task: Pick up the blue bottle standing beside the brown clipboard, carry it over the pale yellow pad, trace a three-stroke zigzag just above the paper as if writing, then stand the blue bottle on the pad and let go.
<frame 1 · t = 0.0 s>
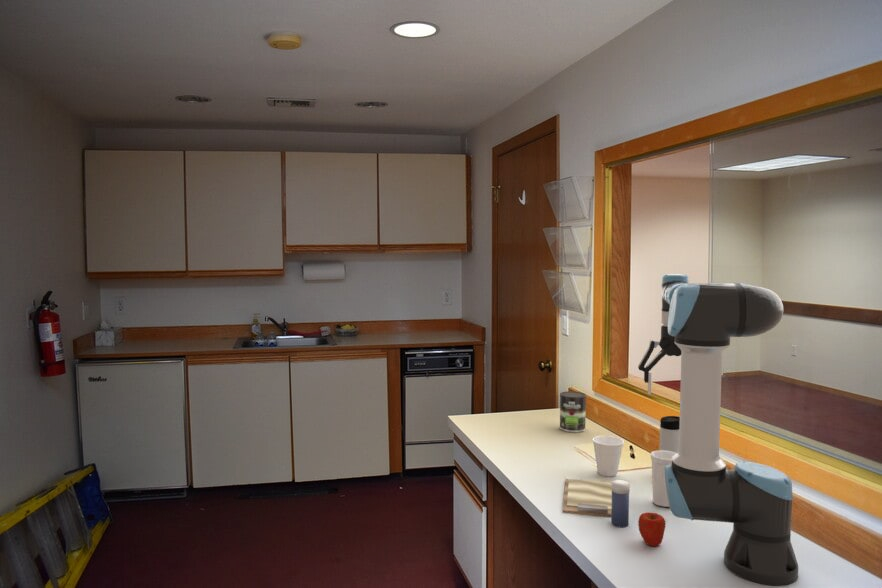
hand: (672, 394, 192), 28 cm above the table, fingers open, 13 cm apart
apple: (651, 544, 156), on the table
cup: (607, 474, 204), on the table
cup 2: (664, 504, 180), on the table
blue bottle: (619, 523, 167), on the table
travel mug: (670, 479, 198), on the table
coffee can: (572, 429, 253), on the table
clipboard: (592, 497, 184), on the table
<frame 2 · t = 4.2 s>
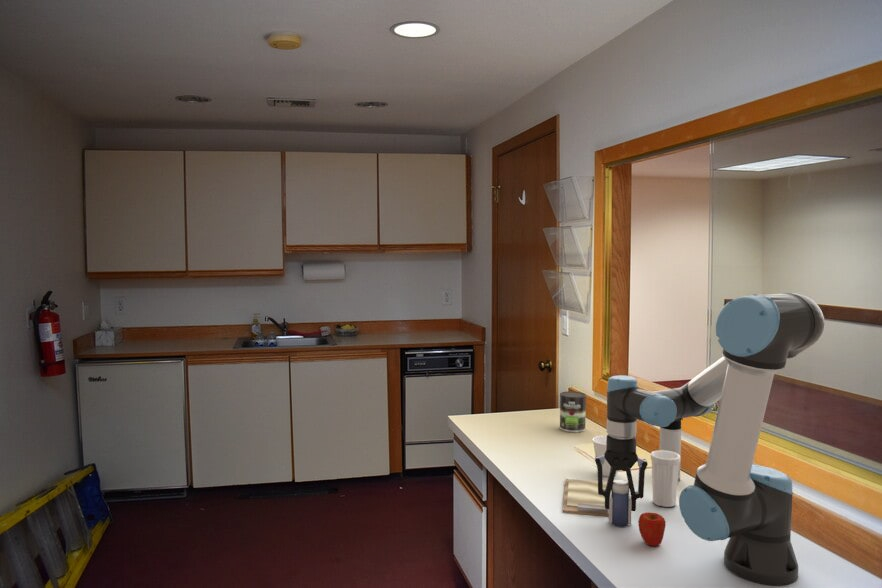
hand: (619, 521, 167), 1 cm above the table, fingers closed on blue bottle, 4 cm apart
blue bottle: (619, 523, 167), on the table, touching gripper
everything else where it was.
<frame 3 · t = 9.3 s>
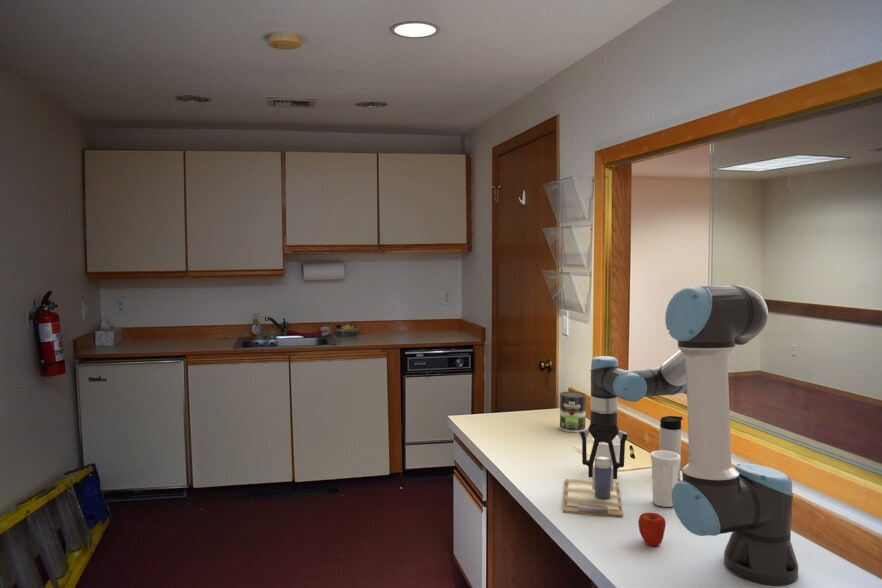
hand: (602, 488, 184), 3 cm above the table, fingers closed on blue bottle, 4 cm apart
blue bottle: (602, 496, 183), point 1 cm above the table, touching gripper
everything else where it was.
when the fingers open (3 cm above the table, at t = 14.5 s): blue bottle stays where it is, resting on clipboard.
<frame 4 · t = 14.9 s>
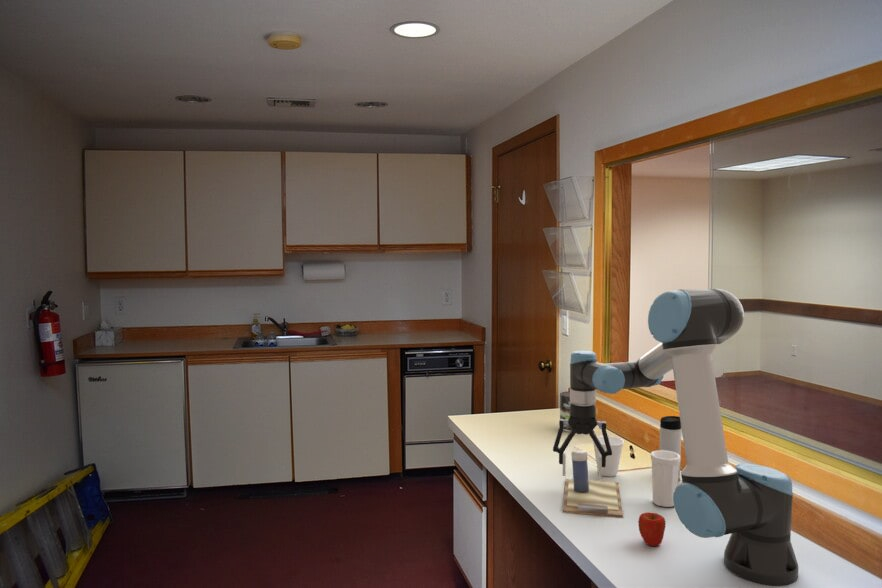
hand: (581, 475, 189), 4 cm above the table, fingers open, 10 cm apart
blue bottle: (581, 489, 187), point 1 cm above the table, tilted 6°, touching clipboard
everything else where it was.
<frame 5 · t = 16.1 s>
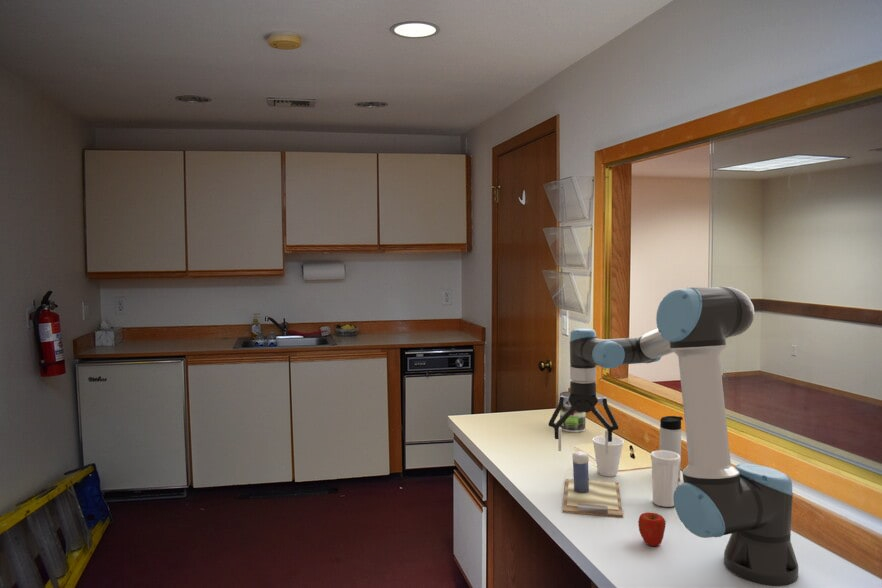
hand: (583, 451, 188), 12 cm above the table, fingers open, 13 cm apart
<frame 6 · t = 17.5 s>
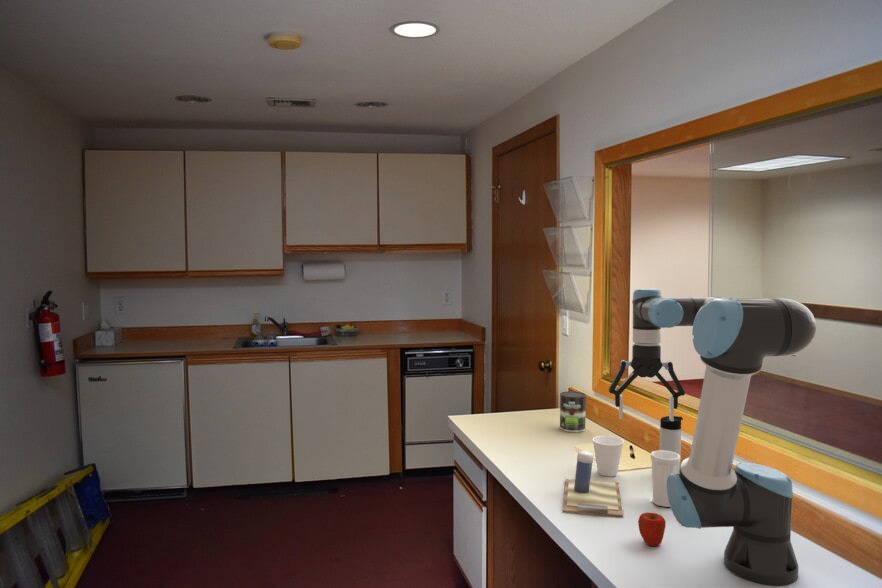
hand: (645, 419, 177), 25 cm above the table, fingers open, 13 cm apart
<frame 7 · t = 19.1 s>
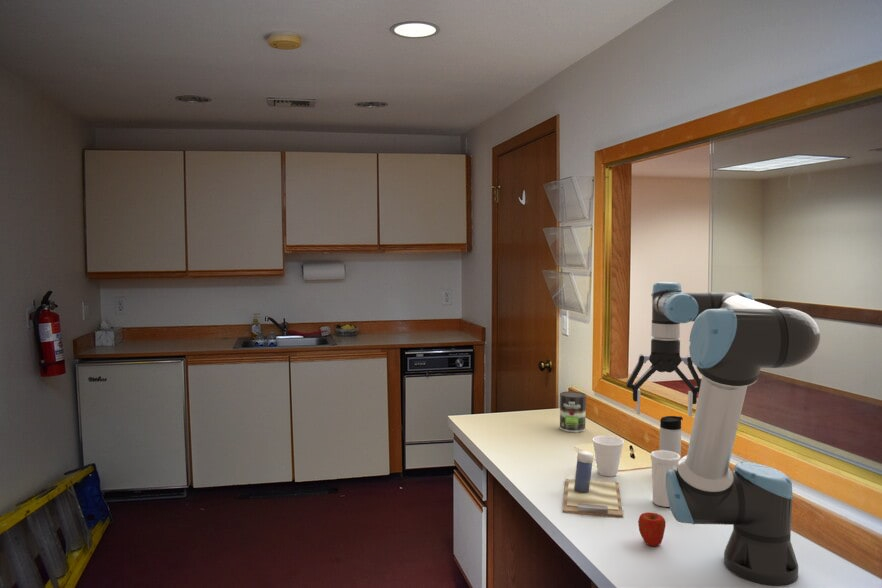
hand: (663, 414, 175), 27 cm above the table, fingers open, 13 cm apart
at the end: blue bottle inside the target area on the clipboard (4.1 cm from its centre), point 1.0 cm above the clipboard's base; the gripper is holding nothing; blue bottle moved 21.3 cm from its start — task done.
